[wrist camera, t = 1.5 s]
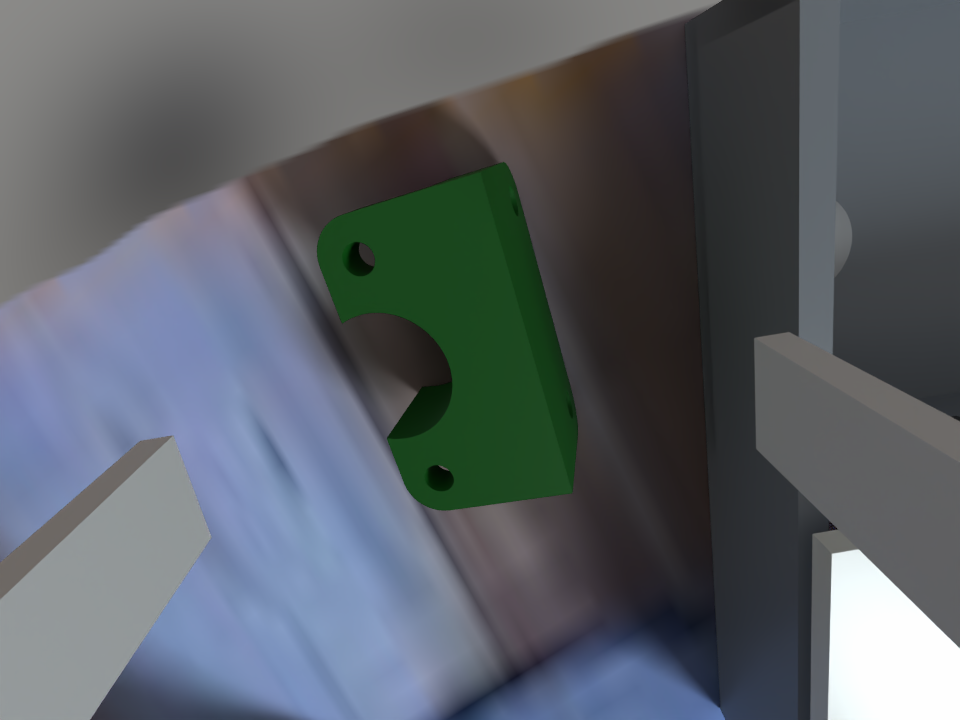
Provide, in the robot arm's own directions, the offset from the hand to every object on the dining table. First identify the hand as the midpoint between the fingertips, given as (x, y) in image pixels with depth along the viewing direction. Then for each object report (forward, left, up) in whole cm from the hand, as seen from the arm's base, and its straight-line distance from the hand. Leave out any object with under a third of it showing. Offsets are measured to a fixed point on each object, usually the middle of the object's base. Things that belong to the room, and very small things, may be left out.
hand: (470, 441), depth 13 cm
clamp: (0, 0, -12) cm, 12 cm away
